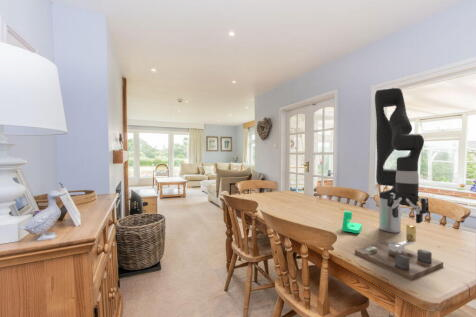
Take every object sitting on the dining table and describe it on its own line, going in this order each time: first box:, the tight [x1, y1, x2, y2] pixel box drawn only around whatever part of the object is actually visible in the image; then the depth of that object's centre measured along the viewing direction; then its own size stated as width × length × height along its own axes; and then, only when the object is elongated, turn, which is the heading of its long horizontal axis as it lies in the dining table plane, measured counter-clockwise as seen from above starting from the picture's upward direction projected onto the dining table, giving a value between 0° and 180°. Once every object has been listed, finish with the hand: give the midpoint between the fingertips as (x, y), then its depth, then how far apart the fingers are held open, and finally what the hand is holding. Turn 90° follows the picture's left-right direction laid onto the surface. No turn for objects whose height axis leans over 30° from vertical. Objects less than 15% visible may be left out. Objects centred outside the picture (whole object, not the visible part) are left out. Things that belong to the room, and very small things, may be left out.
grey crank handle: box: [388, 224, 417, 257], centre depth 87 cm, size 14×5×10 cm, turn 114°
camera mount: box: [341, 210, 363, 234], centre depth 117 cm, size 12×8×10 cm, turn 143°
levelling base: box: [354, 241, 444, 281], centre depth 85 cm, size 20×21×5 cm
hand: (406, 220), depth 90 cm, fingers open, 8 cm apart
